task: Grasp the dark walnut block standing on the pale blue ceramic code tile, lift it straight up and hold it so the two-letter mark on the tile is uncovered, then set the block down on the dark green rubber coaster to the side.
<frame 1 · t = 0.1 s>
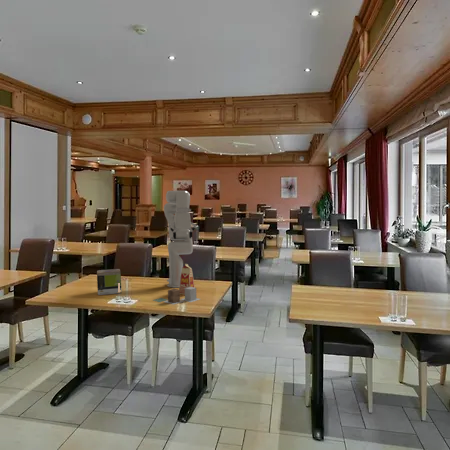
hand: (182, 238, 248), 37 cm above the table, tool pointing down, fingers open, 9 cm apart
walnut block: (173, 301, 240), resting on code tile A
tea box: (109, 293, 263), on the table
grey block: (190, 299, 245), resting on code tile B
code tile A: (173, 302, 240), on the table
milk carton: (186, 293, 261), on the table
coaster: (160, 300, 243), on the table
code tile B: (190, 299, 245), on the table
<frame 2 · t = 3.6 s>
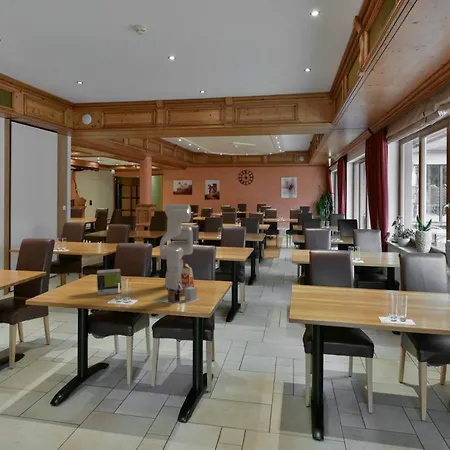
hand: (173, 299, 240), 2 cm above the table, tool pointing down, fingers closed on walnut block, 5 cm apart
walnut block: (173, 301, 240), resting on code tile A, touching gripper
everything else where it was.
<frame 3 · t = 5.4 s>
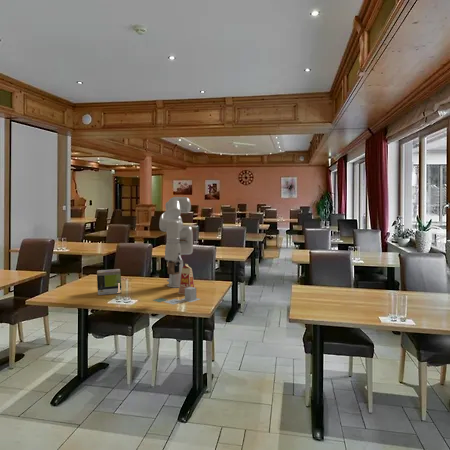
hand: (173, 271, 239), 19 cm above the table, tool pointing down, fingers closed on walnut block, 5 cm apart
walnut block: (173, 273, 239), point 17 cm above the table, touching gripper
everything else where it was.
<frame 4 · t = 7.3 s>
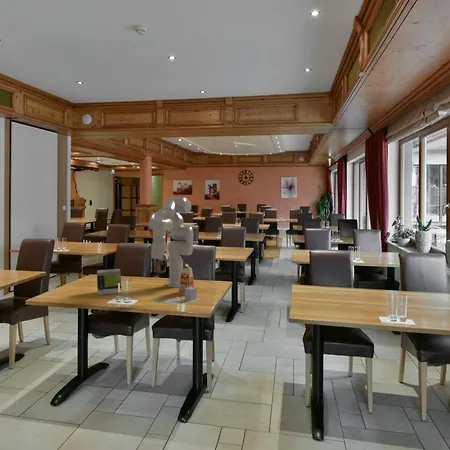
hand: (159, 269, 242), 19 cm above the table, tool pointing down, fingers closed on walnut block, 5 cm apart
walnut block: (159, 271, 242), point 18 cm above the table, touching gripper
everything else where it was.
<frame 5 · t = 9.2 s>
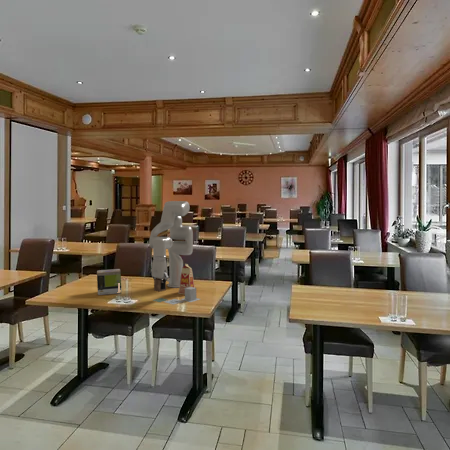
hand: (160, 288, 243), 8 cm above the table, tool pointing down, fingers closed on walnut block, 5 cm apart
walnut block: (160, 290, 243), point 6 cm above the table, touching gripper
everything else where it was.
when the fingers open (3 cm above the table, at t = 11.0 s): walnut block drops 1 cm, resting on coaster.
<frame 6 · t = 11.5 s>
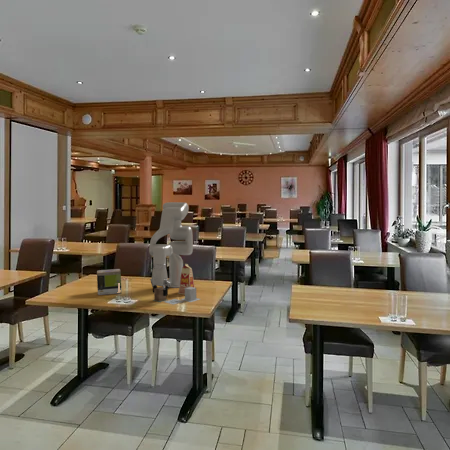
hand: (160, 294, 243), 4 cm above the table, tool pointing down, fingers open, 9 cm apart
walnut block: (160, 300, 243), resting on coaster
everything else where it was.
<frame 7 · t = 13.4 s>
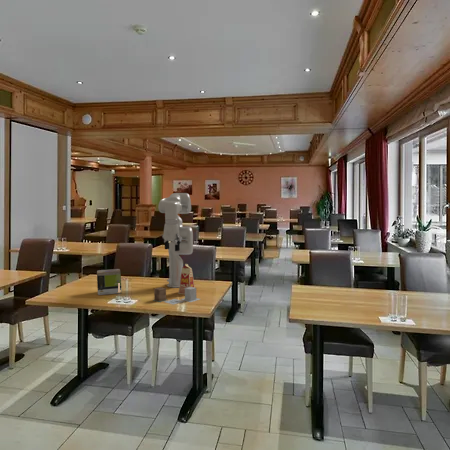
hand: (172, 249, 246), 30 cm above the table, tool pointing down, fingers open, 9 cm apart
nothing on the table moved.
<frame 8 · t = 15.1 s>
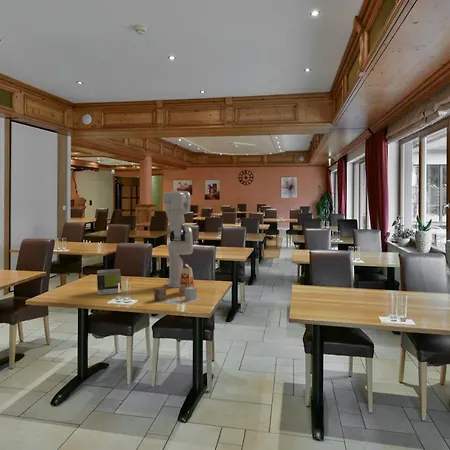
hand: (177, 240, 246), 36 cm above the table, tool pointing down, fingers open, 9 cm apart
nothing on the table moved.
at the end: walnut block inside the target area on the coaster (0.1 cm from its centre), point 0.3 cm above the coaster's base; walnut block tilted 0°; the gripper is holding nothing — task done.
